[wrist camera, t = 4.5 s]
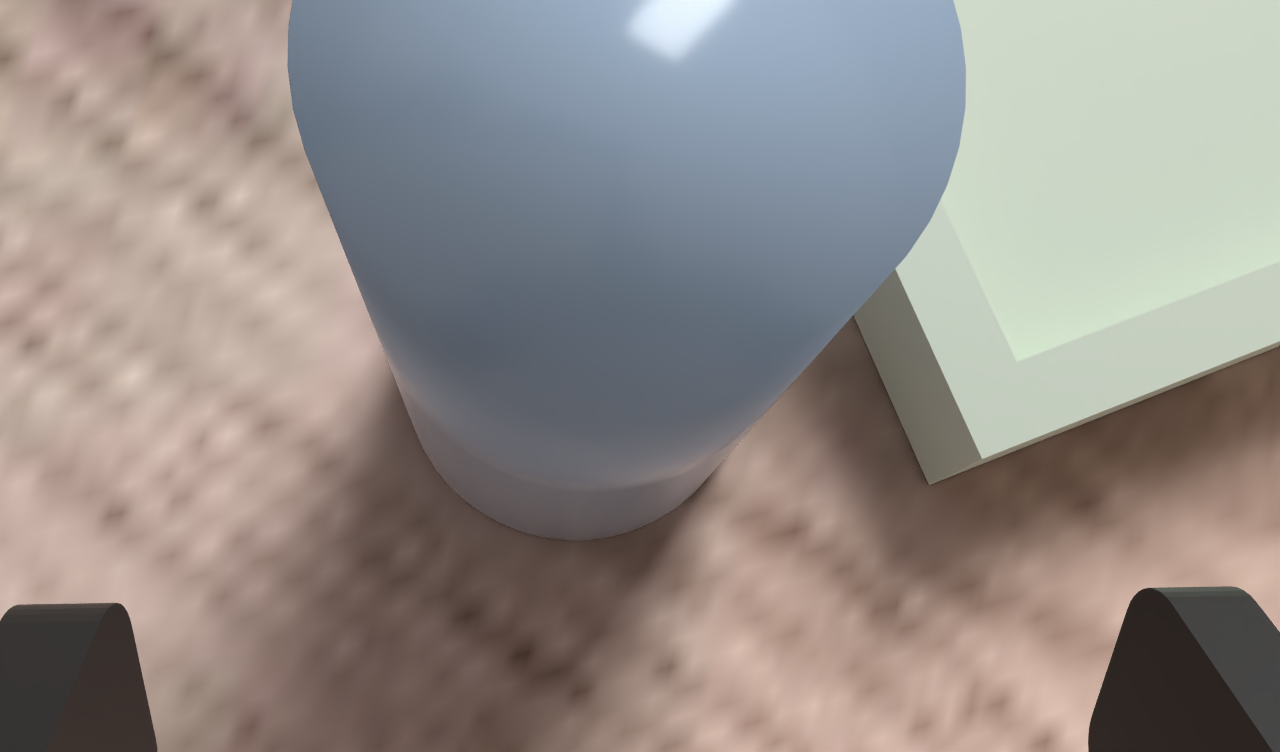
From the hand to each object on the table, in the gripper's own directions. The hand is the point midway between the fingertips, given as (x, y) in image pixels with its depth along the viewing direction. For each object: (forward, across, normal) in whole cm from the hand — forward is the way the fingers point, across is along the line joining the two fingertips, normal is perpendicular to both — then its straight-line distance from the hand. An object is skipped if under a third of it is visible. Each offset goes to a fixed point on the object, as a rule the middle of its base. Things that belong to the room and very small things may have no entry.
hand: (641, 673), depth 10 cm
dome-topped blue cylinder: (+11, 0, +4) cm, 11 cm away
